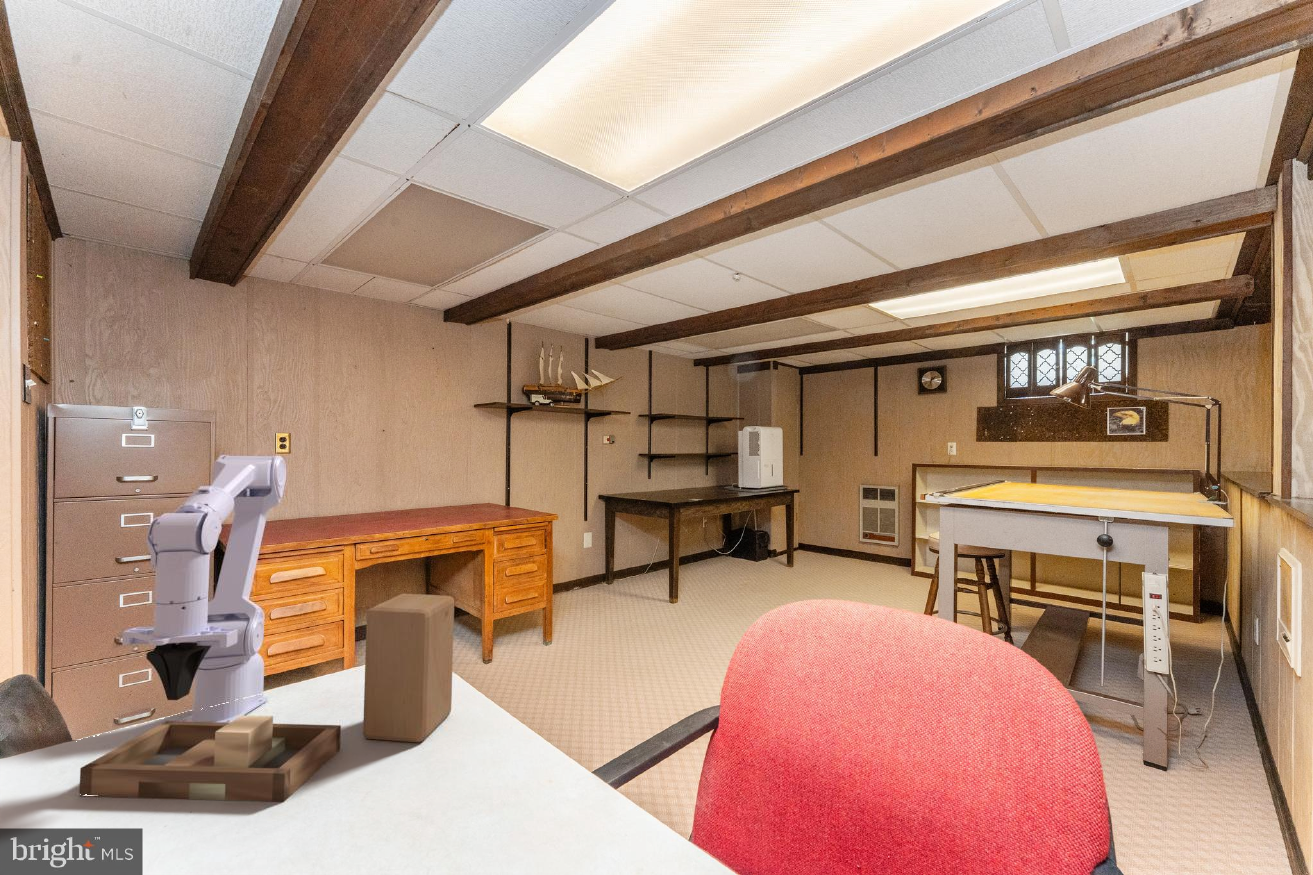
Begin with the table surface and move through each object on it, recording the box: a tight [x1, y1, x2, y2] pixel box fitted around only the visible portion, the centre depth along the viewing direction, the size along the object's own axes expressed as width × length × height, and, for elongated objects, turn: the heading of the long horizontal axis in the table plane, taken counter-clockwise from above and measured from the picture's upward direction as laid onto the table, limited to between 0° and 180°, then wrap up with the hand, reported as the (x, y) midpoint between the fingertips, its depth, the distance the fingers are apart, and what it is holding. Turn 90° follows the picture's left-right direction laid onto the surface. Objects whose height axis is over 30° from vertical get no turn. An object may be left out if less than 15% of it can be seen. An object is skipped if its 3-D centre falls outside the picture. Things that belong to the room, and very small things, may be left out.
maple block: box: [214, 714, 274, 767], centre depth 75 cm, size 4×4×4 cm
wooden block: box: [362, 593, 455, 743], centre depth 88 cm, size 10×10×20 cm
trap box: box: [78, 720, 342, 803], centre depth 75 cm, size 12×26×4 cm, turn 89°
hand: (178, 696), depth 76 cm, fingers closed
